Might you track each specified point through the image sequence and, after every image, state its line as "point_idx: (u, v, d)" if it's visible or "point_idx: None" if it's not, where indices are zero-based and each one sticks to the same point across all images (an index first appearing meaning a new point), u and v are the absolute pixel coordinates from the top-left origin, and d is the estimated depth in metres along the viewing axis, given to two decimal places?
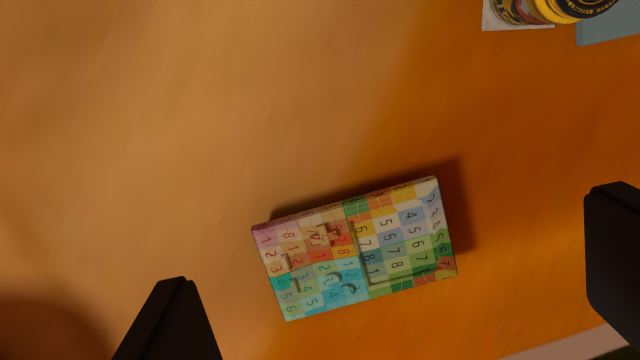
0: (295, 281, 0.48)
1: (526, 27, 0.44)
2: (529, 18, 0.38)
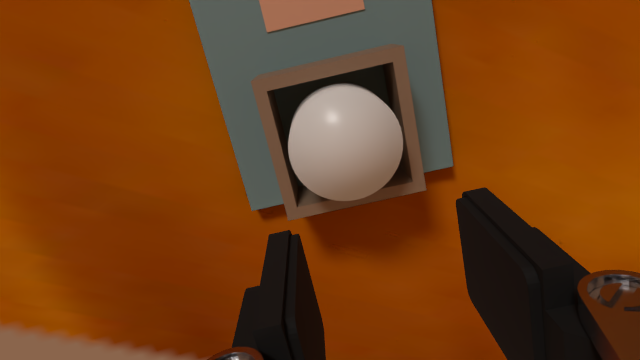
0: None
1: None
2: None
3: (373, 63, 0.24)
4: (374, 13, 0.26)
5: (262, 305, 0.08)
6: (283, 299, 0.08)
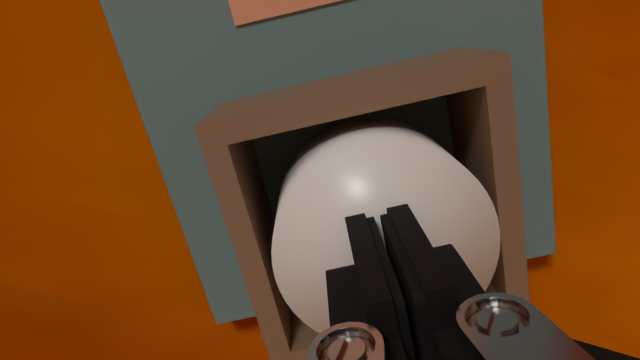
0: None
1: None
2: None
3: (445, 89, 0.12)
4: None
5: (365, 282, 0.08)
6: (385, 276, 0.08)
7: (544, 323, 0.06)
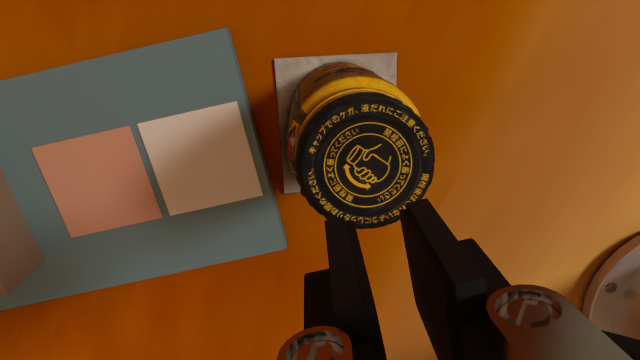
0: None
1: (321, 58, 0.26)
2: None
3: None
4: (69, 245, 0.28)
5: (337, 286, 0.08)
6: (357, 281, 0.08)
7: (576, 316, 0.06)
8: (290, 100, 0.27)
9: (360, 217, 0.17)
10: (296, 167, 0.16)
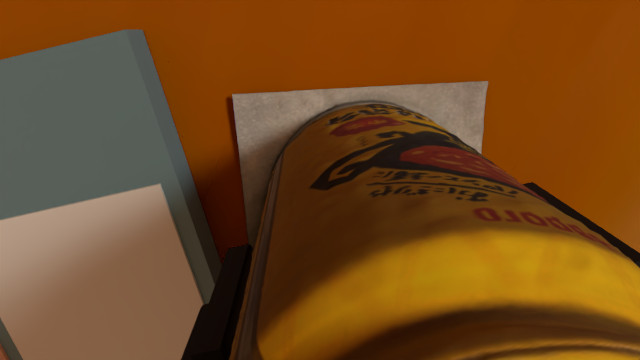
0: None
1: (331, 93, 0.13)
2: None
3: None
4: None
5: (206, 327, 0.08)
6: (227, 320, 0.08)
7: None
8: (268, 176, 0.13)
9: None
10: None
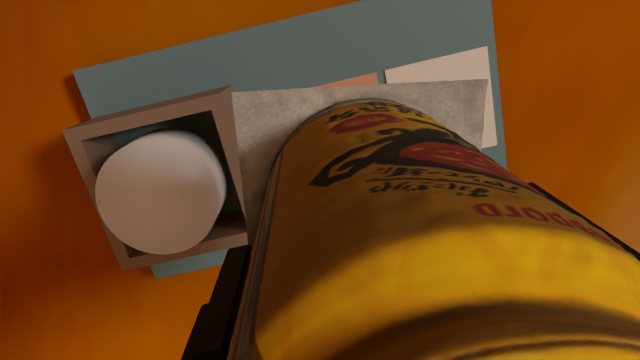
0: None
1: (331, 91, 0.13)
2: None
3: None
4: None
5: (206, 326, 0.08)
6: (227, 320, 0.08)
7: None
8: (267, 174, 0.13)
9: None
10: None
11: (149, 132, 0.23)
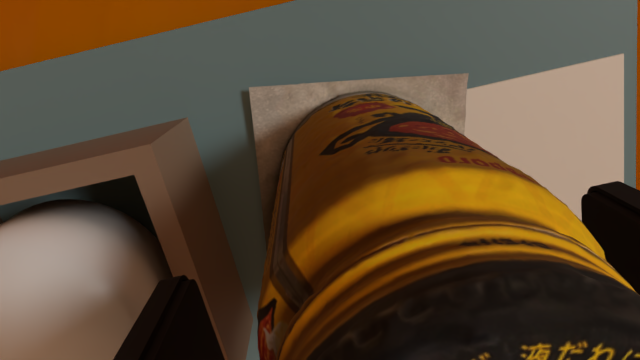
0: None
1: (334, 85, 0.15)
2: None
3: None
4: None
5: None
6: None
7: None
8: (279, 158, 0.15)
9: None
10: None
11: (27, 210, 0.13)
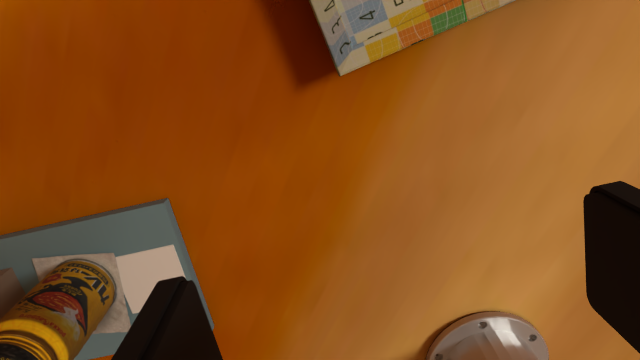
0: None
1: (64, 257, 0.39)
2: (61, 301, 0.34)
3: None
4: None
5: None
6: None
7: None
8: None
9: None
10: None
11: None
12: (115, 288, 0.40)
